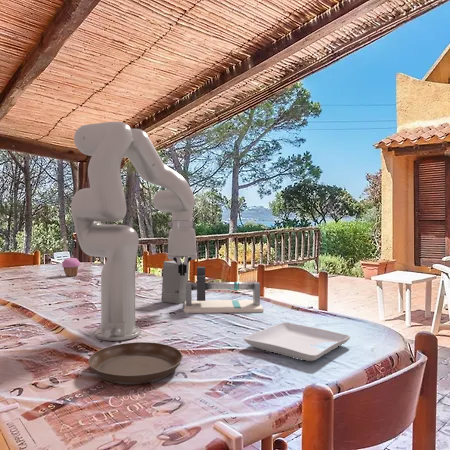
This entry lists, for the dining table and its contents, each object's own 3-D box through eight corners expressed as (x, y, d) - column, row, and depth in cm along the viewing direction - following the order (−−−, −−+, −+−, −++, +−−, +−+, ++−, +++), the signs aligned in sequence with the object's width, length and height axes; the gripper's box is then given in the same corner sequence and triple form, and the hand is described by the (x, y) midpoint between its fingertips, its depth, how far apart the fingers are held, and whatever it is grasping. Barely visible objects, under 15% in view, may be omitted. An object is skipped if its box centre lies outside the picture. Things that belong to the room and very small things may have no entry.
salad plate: (283, 331, 123) (283, 320, 123) (351, 347, 109) (352, 334, 109) (240, 350, 107) (241, 337, 106) (315, 370, 93) (315, 356, 93)
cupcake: (83, 275, 221) (83, 257, 220) (69, 278, 213) (69, 258, 213) (72, 274, 225) (72, 256, 225) (58, 276, 218) (58, 257, 218)
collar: (205, 300, 146) (205, 269, 145) (196, 300, 146) (197, 269, 145) (204, 295, 155) (205, 265, 154) (196, 295, 154) (197, 265, 154)
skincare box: (161, 302, 159) (161, 261, 159) (171, 298, 166) (171, 259, 165) (179, 304, 155) (179, 263, 155) (189, 300, 162) (189, 261, 161)
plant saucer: (185, 354, 103) (185, 341, 103) (178, 390, 82) (179, 374, 82) (102, 354, 102) (102, 341, 102) (75, 391, 82) (75, 374, 82)
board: (263, 312, 145) (263, 308, 145) (183, 312, 143) (184, 309, 143) (257, 303, 159) (257, 299, 159) (185, 303, 157) (185, 300, 157)
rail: (259, 305, 150) (260, 282, 149) (185, 306, 148) (185, 283, 147) (258, 302, 154) (258, 280, 153) (186, 303, 152) (186, 281, 151)
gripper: (160, 225, 144) (161, 277, 145) (202, 225, 145) (203, 276, 146) (162, 224, 152) (162, 273, 153) (202, 224, 153) (202, 273, 154)
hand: (182, 275), depth 150 cm, fingers closed
